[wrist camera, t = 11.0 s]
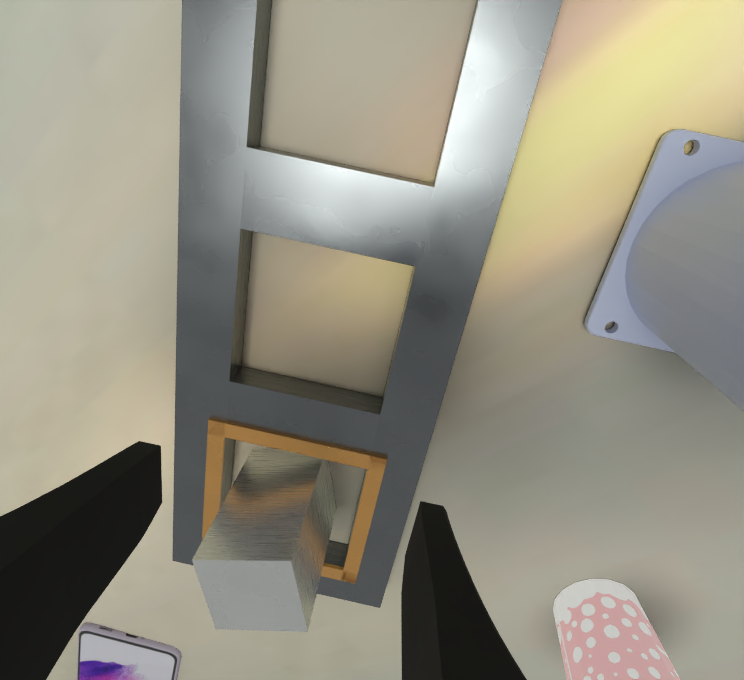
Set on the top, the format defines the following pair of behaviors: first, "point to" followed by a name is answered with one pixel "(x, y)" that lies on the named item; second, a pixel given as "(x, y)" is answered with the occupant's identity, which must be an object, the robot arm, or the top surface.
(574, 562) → the top surface
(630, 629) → the beverage cup
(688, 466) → the top surface
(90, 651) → the smartphone
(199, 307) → the rail
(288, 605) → the block
